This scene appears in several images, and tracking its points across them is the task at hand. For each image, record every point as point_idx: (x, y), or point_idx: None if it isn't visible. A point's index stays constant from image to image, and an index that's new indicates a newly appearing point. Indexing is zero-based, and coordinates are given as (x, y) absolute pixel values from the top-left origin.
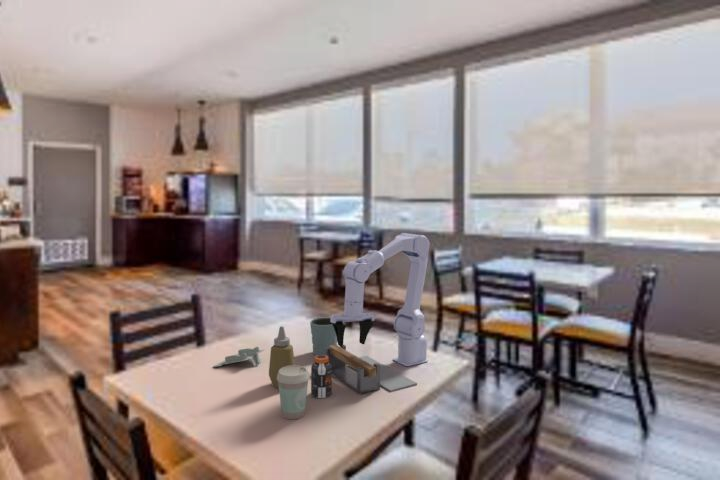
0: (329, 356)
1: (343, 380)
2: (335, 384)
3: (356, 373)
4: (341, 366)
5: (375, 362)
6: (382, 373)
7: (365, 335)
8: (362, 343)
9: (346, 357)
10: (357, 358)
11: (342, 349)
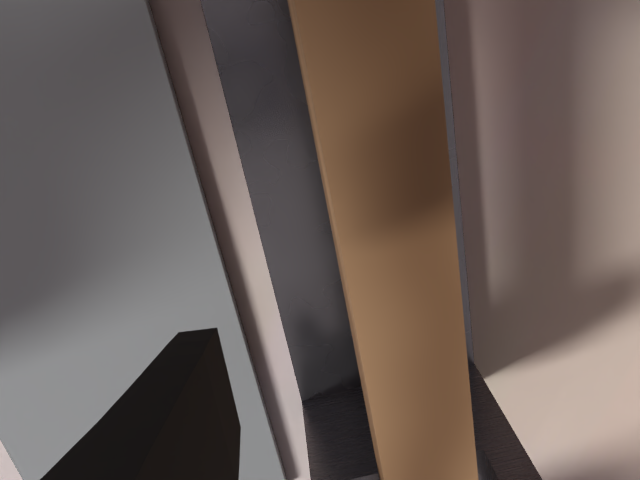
0: (496, 447)
1: (451, 102)
2: (521, 91)
3: (274, 217)
4: (342, 391)
5: (16, 411)
6: (9, 158)
7: (121, 452)
8: (217, 343)
9: (452, 255)
10: (357, 118)
11: (404, 473)
